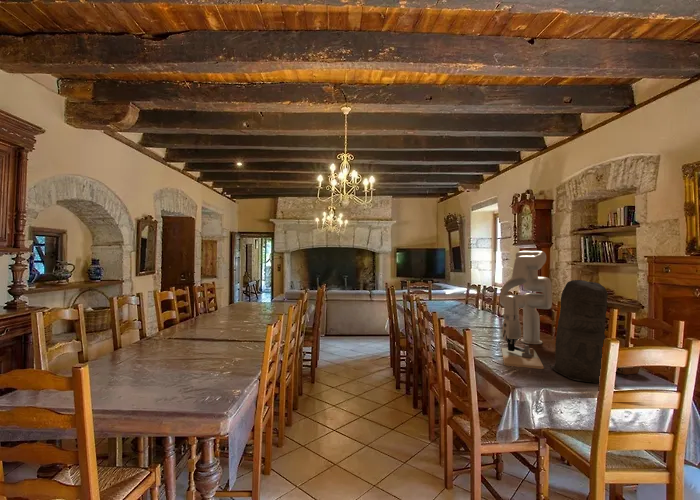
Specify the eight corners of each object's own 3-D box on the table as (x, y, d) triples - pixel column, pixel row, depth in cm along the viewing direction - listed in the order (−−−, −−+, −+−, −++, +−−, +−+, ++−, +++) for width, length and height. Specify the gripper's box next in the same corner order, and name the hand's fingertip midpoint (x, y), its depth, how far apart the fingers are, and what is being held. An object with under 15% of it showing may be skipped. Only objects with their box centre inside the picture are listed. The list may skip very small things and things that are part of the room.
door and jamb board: (501, 349, 222) (501, 336, 222) (534, 352, 216) (534, 339, 216) (504, 365, 190) (504, 350, 190) (543, 369, 184) (543, 353, 184)
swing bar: (526, 351, 203) (526, 345, 203) (523, 352, 203) (523, 345, 203) (509, 346, 216) (509, 340, 216) (506, 346, 215) (506, 340, 215)
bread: (640, 374, 177) (640, 353, 177) (622, 375, 174) (622, 354, 174) (605, 363, 195) (605, 344, 195) (588, 364, 192) (588, 345, 193)
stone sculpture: (557, 382, 168) (567, 284, 163) (548, 365, 187) (557, 276, 183) (619, 392, 160) (631, 289, 156) (603, 373, 180) (614, 281, 175)
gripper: (507, 319, 202) (507, 353, 202) (526, 318, 209) (526, 351, 208) (496, 317, 209) (496, 350, 208) (514, 316, 216) (514, 348, 215)
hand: (511, 350), depth 208 cm, fingers closed
